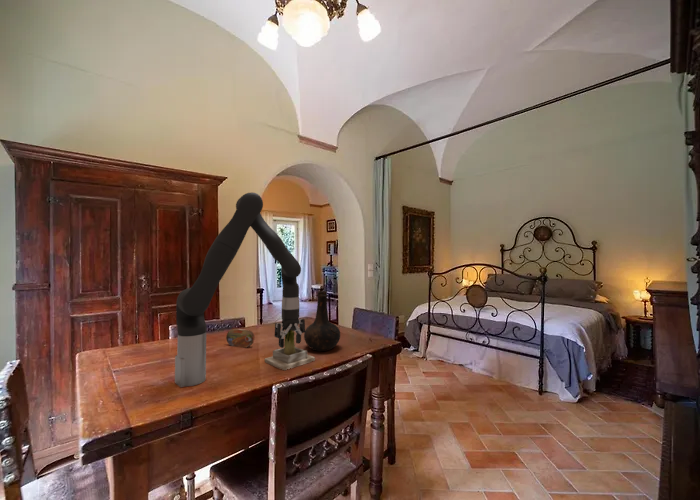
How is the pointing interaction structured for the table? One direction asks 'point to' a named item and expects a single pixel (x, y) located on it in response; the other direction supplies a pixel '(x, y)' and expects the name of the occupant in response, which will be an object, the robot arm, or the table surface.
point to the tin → (240, 338)
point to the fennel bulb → (289, 343)
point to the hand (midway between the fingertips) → (290, 345)
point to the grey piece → (289, 359)
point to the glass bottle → (322, 328)
